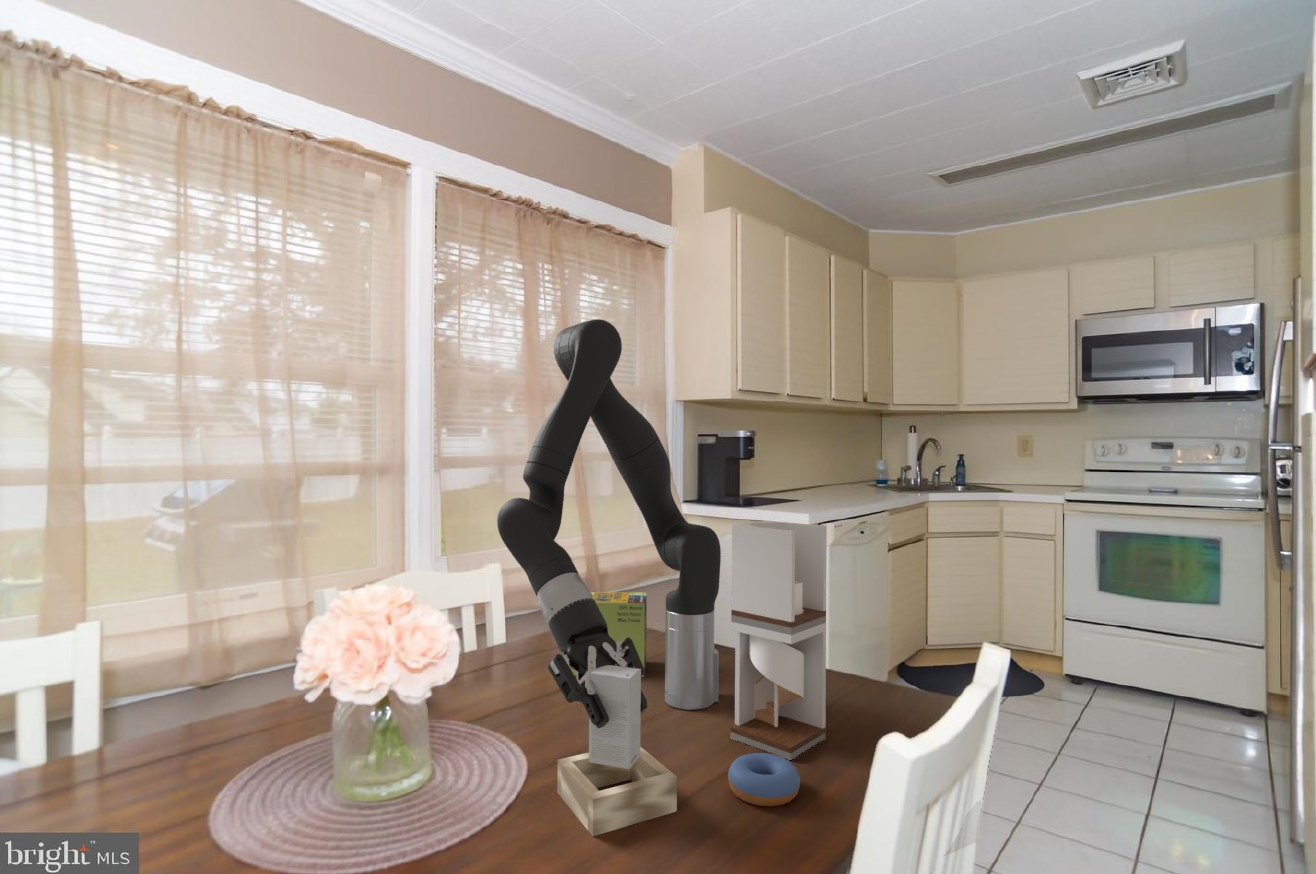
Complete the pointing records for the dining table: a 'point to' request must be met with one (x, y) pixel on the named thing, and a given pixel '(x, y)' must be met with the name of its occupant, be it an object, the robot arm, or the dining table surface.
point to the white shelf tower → (779, 635)
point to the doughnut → (764, 779)
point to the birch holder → (616, 792)
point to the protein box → (625, 618)
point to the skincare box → (617, 717)
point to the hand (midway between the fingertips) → (623, 717)
